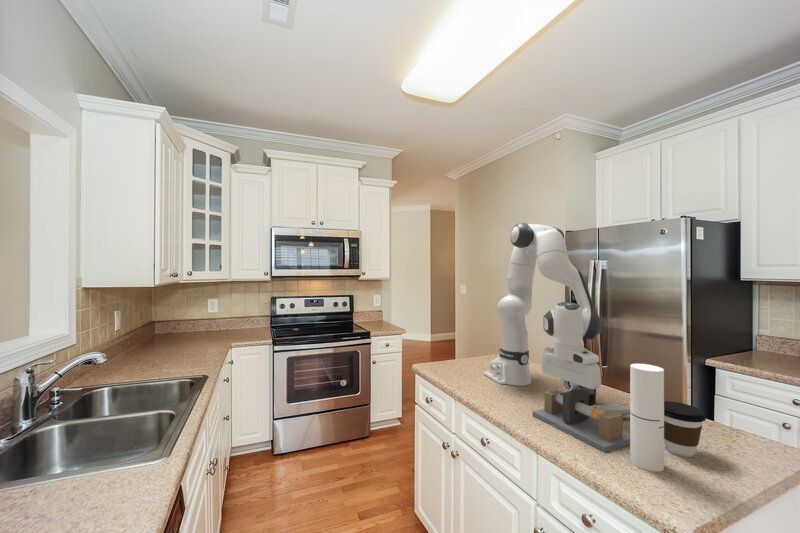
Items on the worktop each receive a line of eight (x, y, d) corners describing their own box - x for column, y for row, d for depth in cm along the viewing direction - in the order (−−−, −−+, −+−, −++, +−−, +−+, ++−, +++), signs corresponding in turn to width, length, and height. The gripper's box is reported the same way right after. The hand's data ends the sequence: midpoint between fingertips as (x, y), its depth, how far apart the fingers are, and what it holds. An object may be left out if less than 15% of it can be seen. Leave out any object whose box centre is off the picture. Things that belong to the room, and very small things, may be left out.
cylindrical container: (624, 455, 93) (624, 363, 93) (651, 456, 93) (651, 363, 93) (642, 471, 86) (641, 371, 86) (671, 471, 86) (671, 371, 86)
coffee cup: (686, 464, 89) (686, 418, 89) (645, 444, 100) (645, 402, 100) (716, 458, 92) (716, 413, 92) (673, 439, 103) (673, 398, 103)
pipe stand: (532, 415, 118) (532, 392, 118) (561, 409, 124) (561, 386, 124) (604, 452, 95) (604, 423, 95) (636, 442, 101) (636, 414, 101)
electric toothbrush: (580, 403, 120) (652, 394, 119) (583, 422, 120) (655, 413, 119) (588, 410, 115) (664, 400, 114) (591, 429, 115) (667, 420, 114)
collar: (562, 420, 110) (562, 392, 110) (582, 415, 114) (582, 388, 114) (569, 423, 108) (569, 395, 108) (588, 418, 112) (588, 390, 112)
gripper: (537, 346, 122) (537, 385, 122) (590, 360, 103) (590, 406, 103) (550, 345, 124) (550, 383, 124) (604, 358, 106) (604, 403, 106)
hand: (569, 394), depth 113 cm, fingers closed
